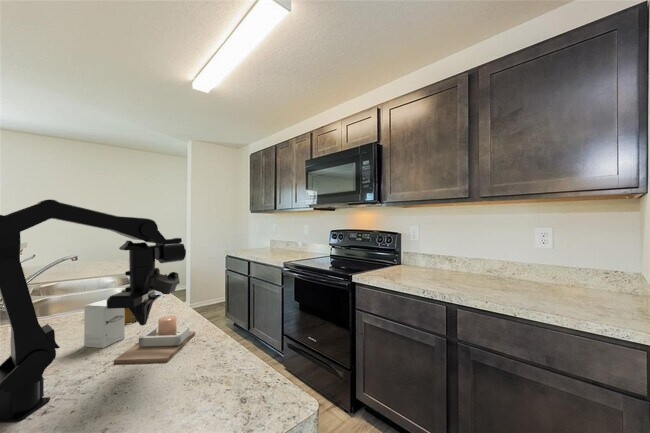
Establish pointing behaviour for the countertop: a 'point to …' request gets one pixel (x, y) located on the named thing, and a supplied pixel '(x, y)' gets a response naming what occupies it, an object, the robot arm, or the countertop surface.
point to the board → (151, 353)
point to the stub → (167, 326)
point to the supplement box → (103, 325)
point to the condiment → (129, 314)
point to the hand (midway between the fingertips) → (143, 324)
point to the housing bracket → (162, 338)
